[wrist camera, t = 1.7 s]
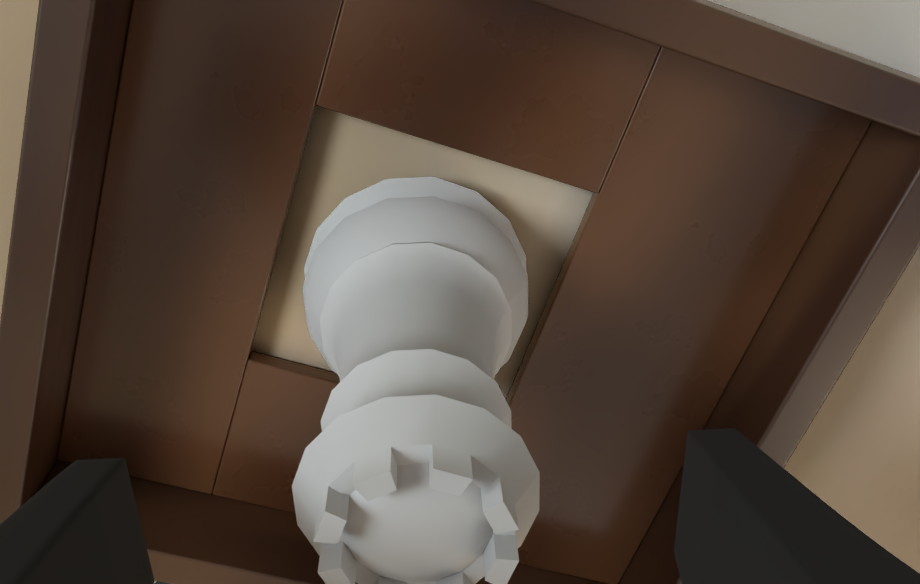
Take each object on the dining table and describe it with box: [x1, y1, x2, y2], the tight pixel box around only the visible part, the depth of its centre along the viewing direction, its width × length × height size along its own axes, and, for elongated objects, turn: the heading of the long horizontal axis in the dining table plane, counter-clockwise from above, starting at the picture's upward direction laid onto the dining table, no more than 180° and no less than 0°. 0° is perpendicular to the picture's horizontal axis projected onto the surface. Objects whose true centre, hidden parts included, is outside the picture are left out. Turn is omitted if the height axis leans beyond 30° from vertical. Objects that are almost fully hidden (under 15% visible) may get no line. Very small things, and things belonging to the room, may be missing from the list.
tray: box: [0, 0, 920, 584], centre depth 17 cm, size 15×14×2 cm
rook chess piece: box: [292, 177, 540, 584], centre depth 14 cm, size 4×4×8 cm
